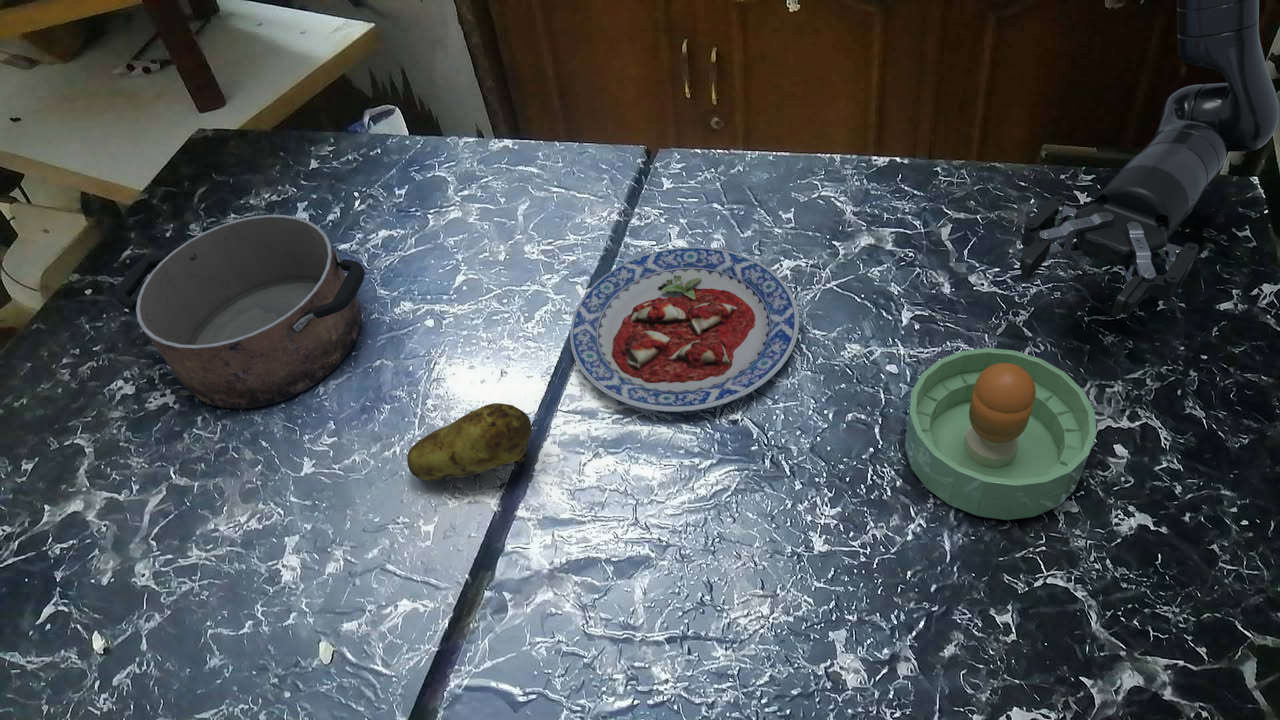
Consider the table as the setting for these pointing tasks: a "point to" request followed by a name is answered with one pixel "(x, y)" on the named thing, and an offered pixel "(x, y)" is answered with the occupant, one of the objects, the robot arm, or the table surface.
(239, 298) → the cooking pot
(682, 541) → the table surface
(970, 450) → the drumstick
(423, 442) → the potato
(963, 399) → the green round shallow dish
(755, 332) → the ceramic plate
